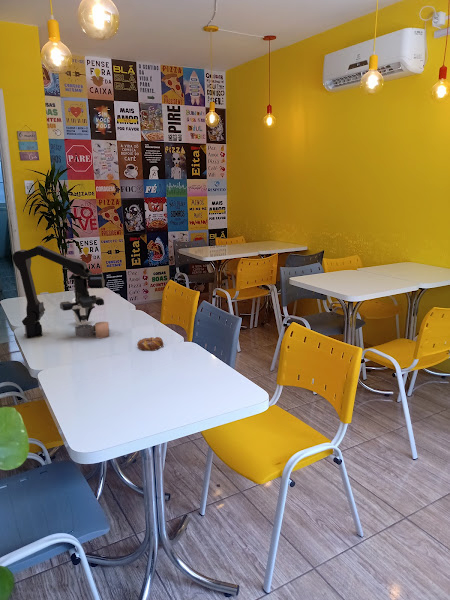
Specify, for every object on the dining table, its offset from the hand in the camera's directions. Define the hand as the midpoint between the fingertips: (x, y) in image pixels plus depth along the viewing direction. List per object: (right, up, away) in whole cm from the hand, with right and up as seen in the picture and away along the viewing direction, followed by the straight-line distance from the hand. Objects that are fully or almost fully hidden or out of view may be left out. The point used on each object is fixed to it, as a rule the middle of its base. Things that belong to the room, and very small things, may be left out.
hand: (83, 321), depth 207 cm
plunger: (0, -4, +1) cm, 4 cm away
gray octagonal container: (+1, -6, +2) cm, 6 cm away
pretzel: (+33, -10, -15) cm, 38 cm away
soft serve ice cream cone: (-7, -2, +18) cm, 20 cm away
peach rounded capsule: (+9, -7, -1) cm, 11 cm away
